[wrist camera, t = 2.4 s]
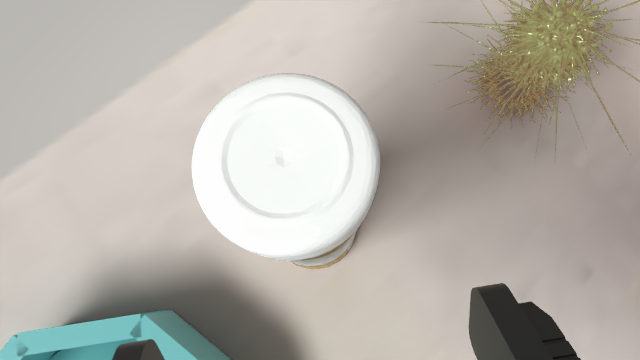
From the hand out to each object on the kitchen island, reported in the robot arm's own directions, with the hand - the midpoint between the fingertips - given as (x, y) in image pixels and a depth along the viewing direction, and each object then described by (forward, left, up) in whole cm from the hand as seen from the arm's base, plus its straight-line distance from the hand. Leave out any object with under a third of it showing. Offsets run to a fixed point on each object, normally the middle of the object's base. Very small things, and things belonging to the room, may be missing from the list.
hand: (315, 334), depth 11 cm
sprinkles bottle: (0, -4, -12) cm, 12 cm away
